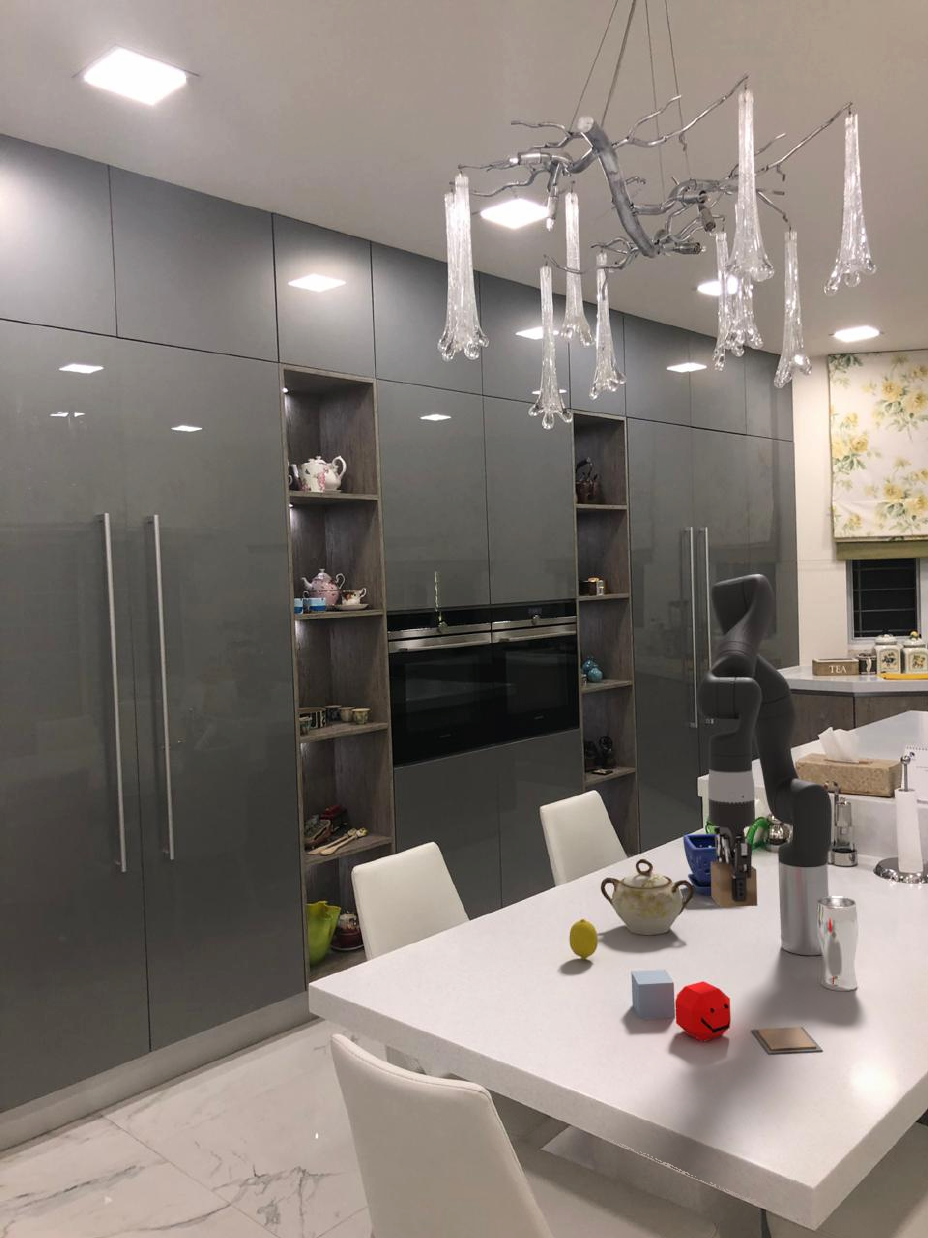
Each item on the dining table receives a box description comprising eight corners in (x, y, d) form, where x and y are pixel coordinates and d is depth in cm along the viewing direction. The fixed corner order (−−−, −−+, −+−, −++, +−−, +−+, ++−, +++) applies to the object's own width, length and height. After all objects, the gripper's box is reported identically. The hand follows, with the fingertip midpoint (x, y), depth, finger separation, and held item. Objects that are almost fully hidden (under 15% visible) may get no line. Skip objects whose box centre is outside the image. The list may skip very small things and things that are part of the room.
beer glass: (859, 979, 183) (856, 897, 183) (860, 994, 177) (858, 908, 176) (818, 976, 186) (815, 894, 185) (818, 990, 179) (815, 906, 179)
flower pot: (751, 896, 235) (749, 845, 235) (694, 898, 235) (692, 847, 235) (737, 880, 248) (735, 832, 248) (683, 882, 249) (681, 834, 248)
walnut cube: (746, 895, 173) (745, 860, 173) (757, 905, 167) (756, 869, 167) (711, 896, 173) (710, 861, 173) (721, 907, 167) (720, 871, 167)
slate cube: (666, 1003, 176) (665, 969, 176) (675, 1018, 170) (673, 982, 170) (632, 1005, 176) (631, 971, 176) (639, 1020, 170) (638, 984, 170)
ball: (701, 1050, 158) (699, 1001, 158) (668, 1031, 165) (666, 985, 165) (740, 1037, 162) (738, 990, 161) (706, 1020, 169) (704, 974, 168)
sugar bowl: (594, 937, 212) (591, 865, 211) (609, 915, 226) (607, 848, 225) (690, 944, 205) (687, 871, 205) (699, 921, 219) (697, 852, 219)
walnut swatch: (802, 1028, 164) (802, 1025, 164) (822, 1051, 156) (822, 1048, 156) (751, 1031, 164) (751, 1028, 164) (768, 1054, 155) (768, 1051, 155)
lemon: (597, 965, 196) (595, 924, 195) (568, 964, 197) (567, 923, 197) (599, 955, 201) (597, 915, 201) (571, 954, 202) (570, 914, 202)
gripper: (767, 803, 163) (769, 907, 163) (740, 787, 177) (743, 883, 178) (720, 805, 163) (723, 909, 163) (698, 789, 177) (700, 884, 177)
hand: (733, 895), depth 170 cm, fingers closed on walnut cube, 6 cm apart
